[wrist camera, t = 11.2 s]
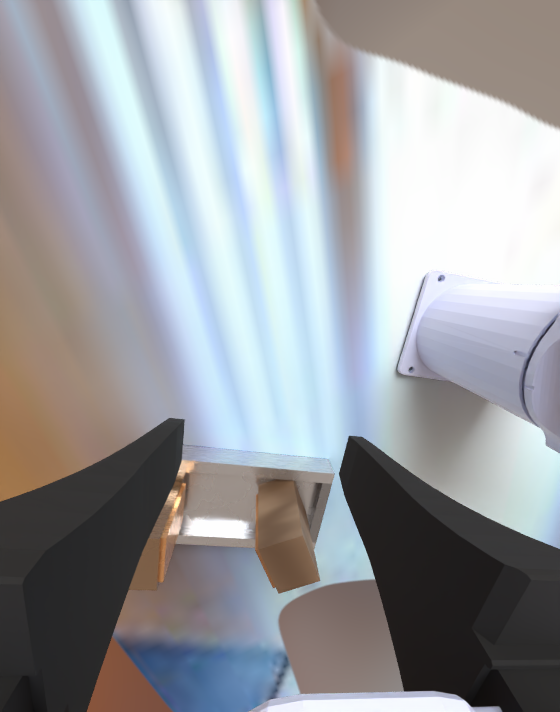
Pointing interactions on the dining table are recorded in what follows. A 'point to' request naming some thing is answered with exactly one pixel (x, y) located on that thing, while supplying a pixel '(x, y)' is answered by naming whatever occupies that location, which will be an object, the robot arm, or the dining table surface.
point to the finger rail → (226, 503)
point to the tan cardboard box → (284, 536)
